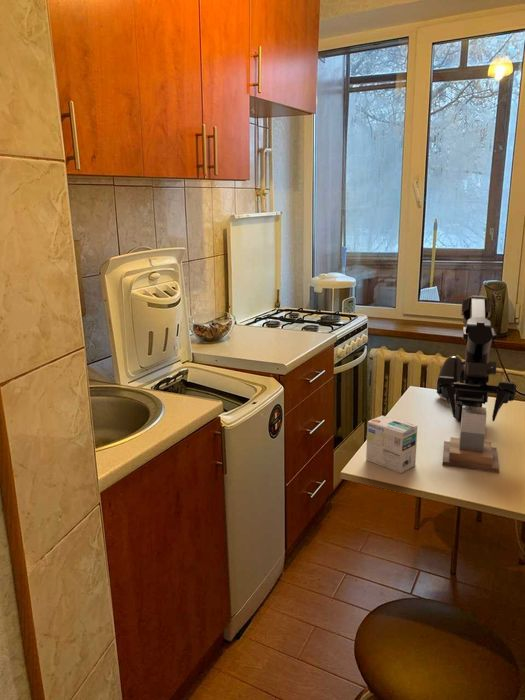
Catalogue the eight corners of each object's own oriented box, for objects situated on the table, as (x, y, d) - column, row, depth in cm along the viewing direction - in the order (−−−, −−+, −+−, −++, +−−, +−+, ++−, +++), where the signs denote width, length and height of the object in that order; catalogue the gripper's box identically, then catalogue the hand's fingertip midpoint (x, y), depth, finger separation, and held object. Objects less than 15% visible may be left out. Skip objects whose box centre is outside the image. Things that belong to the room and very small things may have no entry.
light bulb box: (416, 465, 135) (418, 425, 132) (401, 474, 130) (403, 432, 127) (380, 452, 142) (382, 414, 140) (364, 460, 138) (366, 420, 135)
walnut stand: (444, 444, 146) (444, 434, 146) (495, 451, 142) (497, 440, 141) (442, 465, 134) (443, 454, 134) (498, 473, 130) (500, 461, 129)
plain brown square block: (459, 441, 141) (462, 405, 138) (482, 444, 139) (485, 407, 137) (459, 450, 136) (462, 412, 133) (482, 453, 134) (486, 415, 132)
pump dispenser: (465, 406, 174) (469, 361, 171) (432, 401, 179) (435, 357, 176) (470, 397, 183) (474, 354, 179) (438, 392, 188) (441, 350, 184)
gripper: (439, 346, 139) (435, 400, 132) (519, 351, 133) (519, 408, 125) (439, 367, 148) (434, 419, 141) (513, 373, 142) (512, 427, 135)
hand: (473, 418), depth 135 cm, fingers open, 9 cm apart
